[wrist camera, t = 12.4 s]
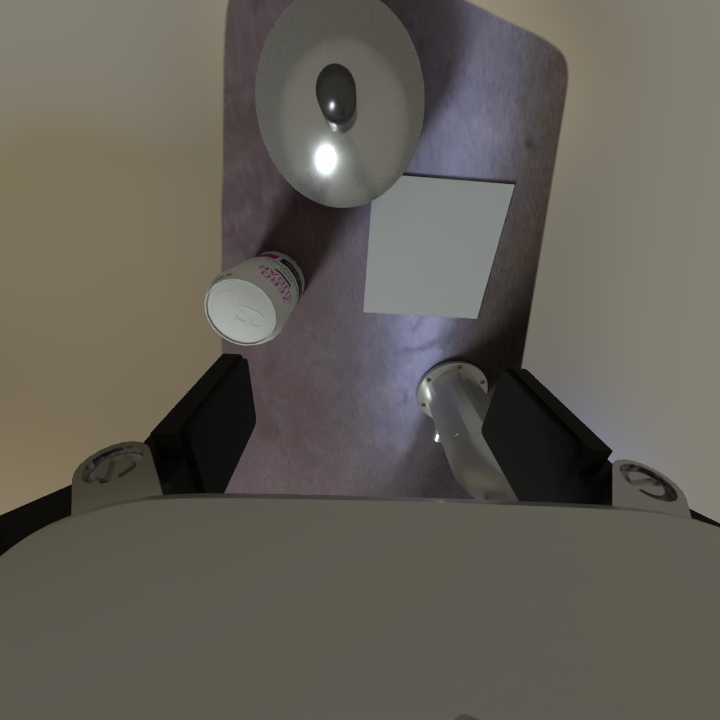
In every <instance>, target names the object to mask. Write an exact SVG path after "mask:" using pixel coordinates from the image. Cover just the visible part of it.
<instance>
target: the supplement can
mask: <svg viewBox="0 0 720 720" xmlns="http://www.w3.org/2000/svg"><path fill="white" fill-rule="evenodd" d="M304 283H305V279H304V276H303V273H302V270H301V268H300V267H299V266H298V264H297V263H296V262H295V261H294V260H293V259H292V258H290V257H289V256H288V255H286V254H283V253H280V252H277V251H270V252H264V253H262V254H260V255H258V256H256V257H254V258H252V259H250V260H247V261H245V262H243V263H241V264H239V265H237V266H235V267H233V268H231V269H229V270H227V271H225V272H223V273H221V274H219V275H217V276H216V277H215V278H214V279H213V280H212V282H211V283H210V284H209V285H208V289H207V293H206V297H205V304H204V305H205V312H206V317H207V319H208V321H209V322H210V324H211V326H212V327H213V329H214V330H215V331H216V332H217V333H218V334H219V335H220V336H221V337H223V338H225V339H227V340H228V341H230V342H232V343H236V344H240V345H256V344H262V343H265V342H267V341H269V340H272V339H273V338H274V337H275V336H276V335H277V334H278V333H279V332H280V331H281V330H282V328H283V326H284V325H285V323H286V321H287V320H288V318H289V316H290V315H291V313H292V312H293V310H294V308H295V307H296V305H297V303H298V302H299V300H300V298H301V296H302V294H303V291H304Z"/></svg>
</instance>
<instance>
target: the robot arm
mask: <svg viewBox="0 0 720 720" xmlns="http://www.w3.org/2000/svg"><path fill="white" fill-rule="evenodd" d="M487 391H488V383H487V379H486V377H485V375H484V374H483V372H482V371H481V370H480V369H479V368H478V367H477V366H475V365H473V364H471V363H468V362H465V361H449V362H445V363H442V364H439V365H437V366H435V367H433V368H432V369H430V370H429V371H428V372H427V373H426V374H425V375H424V376H423V377H422V378H421V380H420V382H419V384H418V387H417V392H416V396H417V401H418V404H419V406H420V408H421V410H422V411H423V412H424V413H425V414H427V415H428V416H430V417H432V418H433V420H434V425H435V427H436V428H435V430H434V434H433V439H434V440H435V441H436V442H442V445H443V448H444V450H445V453H446V456H447V458H448V461H449V464H450V467H451V469H452V472H453V475H454V477H455V479H456V480H457V482H458V483H459V485H460V486H461V487H462V488H463V489H464V490H465V491H466V492H467V493H468V494H470V495H471V496H472V497H474V498H475V499H477V500H474V499H444V498H411V497H377V496H340V495H299V494H242V493H224V492H225V490H226V488H227V486H228V483H229V481H230V479H231V477H232V475H233V473H234V470H235V468H236V466H237V464H238V462H239V460H240V457H241V455H242V453H243V451H244V449H245V447H246V444H247V442H248V440H249V438H250V436H251V434H252V431H253V429H254V427H255V423H256V414H255V407H254V401H253V394H252V387H251V380H250V373H249V366H248V361H247V359H243V357H242V355H240V354H222V355H221V356H220V357H219V359H218V360H217V361H216V362H215V363H214V364H213V365H212V366H211V367H210V368H209V370H208V371H207V372H206V373H205V374H204V375H203V376H202V377H201V378H200V379H199V380H198V382H197V383H196V384H195V385H194V386H193V387H192V388H191V389H190V390H189V391H188V393H187V394H186V395H185V396H184V397H183V398H182V399H181V400H180V402H179V403H178V404H177V405H176V406H175V407H174V408H173V409H172V410H171V411H170V412H169V413H168V415H167V416H166V417H165V418H164V419H163V420H162V421H161V422H160V423H159V424H158V426H157V427H156V428H155V429H154V430H153V431H152V432H151V435H150V436H149V437H148V438H147V439H146V440H145V442H144V443H142V442H135V441H130V442H122V443H118V444H115V445H111V446H109V447H107V448H104V449H102V450H100V451H98V452H96V453H95V454H93V455H92V456H90V457H88V458H87V459H86V460H85V461H84V462H83V463H81V464H80V465H79V467H78V468H77V469H76V471H75V472H74V475H73V478H72V485H70V486H67V487H65V488H63V489H60V490H58V491H56V492H54V493H51V494H49V495H47V496H44V497H42V498H40V499H37V500H35V501H33V502H30V503H28V504H26V505H24V506H21V507H19V508H17V509H14V510H12V511H10V512H7V513H5V514H3V515H0V720H720V523H718V522H716V521H714V520H712V519H709V518H707V517H705V516H703V515H701V514H699V513H697V512H695V511H693V510H691V509H689V507H688V504H687V500H686V498H685V495H684V493H683V492H682V490H681V489H680V488H679V487H678V486H677V485H676V484H675V483H674V482H672V481H671V480H670V479H669V478H667V477H666V476H664V475H663V474H661V473H660V472H658V471H656V470H655V469H653V468H650V467H648V466H646V465H644V464H641V463H638V462H635V461H630V460H617V461H615V462H614V463H613V464H612V463H611V462H610V461H609V460H608V457H609V456H610V454H611V453H612V450H611V449H610V448H609V447H608V446H607V445H606V444H605V443H604V442H602V440H600V439H599V438H598V437H597V436H596V435H595V434H594V433H593V432H592V431H591V430H590V429H589V428H588V427H587V426H586V425H585V424H583V422H581V421H580V420H579V419H578V418H577V417H576V416H575V415H574V414H573V413H572V412H571V411H570V410H569V409H568V408H567V407H566V406H565V405H563V404H562V403H561V402H560V401H559V400H558V399H557V398H556V397H555V396H554V395H553V394H552V393H551V392H550V391H549V390H548V389H547V388H546V387H545V386H543V385H542V384H541V383H540V382H539V381H538V380H537V379H536V378H535V377H534V376H533V375H532V374H531V373H530V372H529V371H528V370H526V369H515V368H509V369H507V370H506V371H505V372H502V373H501V375H500V378H499V381H498V383H497V386H496V389H495V392H494V394H493V397H492V400H490V399H489V397H488V396H487Z"/></svg>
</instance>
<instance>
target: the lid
mask: <svg viewBox="0 0 720 720" xmlns="http://www.w3.org/2000/svg"><path fill="white" fill-rule="evenodd" d="M255 98H256V111H257V119H258V123H259V127H260V132H261V135H262V138H263V141H264V144H265V147H266V149H267V151H268V153H269V155H270V157H271V159H272V161H273V163H274V164H275V166H276V168H277V169H278V170H279V172H280V173H281V174H282V176H283V177H284V178H285V179H286V180H287V182H288V183H289V184H290V185H291V186H292V187H293V188H295V189H296V190H297V191H298V192H299V193H301V194H302V195H304V196H305V197H307V198H309V199H310V200H312V201H315V202H317V203H319V204H322V205H326V206H329V207H336V208H351V207H357V206H361V205H364V204H367V203H369V202H371V201H373V200H375V199H377V198H378V197H380V196H381V195H383V194H384V193H385V192H386V191H388V190H389V189H390V188H391V187H392V186H393V185H394V184H395V183H396V182H397V181H398V179H399V178H400V177H401V176H402V174H403V173H404V171H405V170H406V168H407V167H408V165H409V163H410V161H411V159H412V157H413V155H414V153H415V150H416V148H417V145H418V142H419V138H420V135H421V131H422V125H423V120H424V109H425V89H424V81H423V74H422V70H421V65H420V61H419V58H418V55H417V52H416V49H415V46H414V44H413V42H412V40H411V38H410V36H409V34H408V32H407V30H406V29H405V27H404V26H403V24H402V23H401V21H400V20H399V19H398V17H397V16H396V15H395V14H394V13H393V12H392V10H391V9H390V8H389V7H387V6H386V5H385V4H384V3H383V2H382V1H380V0H295V1H294V2H293V3H292V4H291V5H290V6H289V7H288V8H286V9H285V10H284V12H283V13H282V14H281V15H280V17H279V18H278V19H277V20H276V22H275V24H274V25H273V27H272V29H271V31H270V32H269V34H268V36H267V39H266V41H265V43H264V46H263V49H262V52H261V56H260V59H259V63H258V69H257V75H256V87H255Z"/></svg>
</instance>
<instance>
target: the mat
mask: <svg viewBox="0 0 720 720" xmlns="http://www.w3.org/2000/svg"><path fill="white" fill-rule="evenodd" d="M514 186H515V185H513V184H501V183H488V182H476V181H464V180H451V179H439V178H426V177H414V176H401V177H400V178H399V179H398V181H397V182H396V183H395V184H394V185H393V186H392V187H391V188H390V189H389V190H388V191H386V192H385V193H384V194H383V195H381V196H380V197H378V198H377V199H375V200H373V201H372V202H371V216H370V229H369V243H368V256H367V270H366V283H365V297H364V310H363V312H371V313H388V314H405V315H422V316H439V317H456V318H473V319H477V317H478V313H479V310H480V306H481V303H482V299H483V296H484V292H485V289H486V285H487V282H488V278H489V274H490V271H491V267H492V264H493V260H494V257H495V253H496V250H497V246H498V243H499V239H500V236H501V232H502V228H503V225H504V221H505V218H506V214H507V211H508V207H509V204H510V200H511V197H512V193H513V189H514Z"/></svg>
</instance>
